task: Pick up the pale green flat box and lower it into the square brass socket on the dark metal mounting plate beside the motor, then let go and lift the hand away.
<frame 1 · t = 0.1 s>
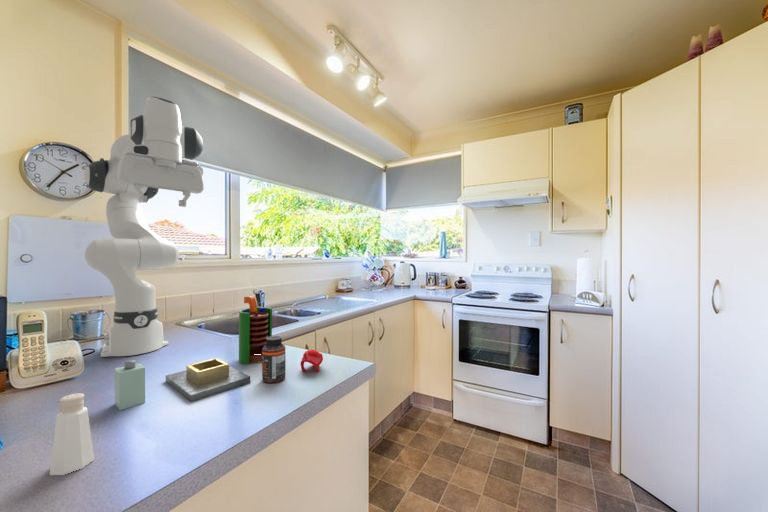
hand: (163, 204, 89), 48 cm above the countertop, tool pointing down, fingers open, 8 cm apart
supplement bottle: (273, 380, 84), on the countertop
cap: (311, 370, 91), on the countertop
mounting plate: (207, 381, 82), on the countertop
pale green flat box: (130, 403, 70), on the countertop
motor: (254, 359, 100), on the countertop
salt shaker: (72, 465, 50), on the countertop
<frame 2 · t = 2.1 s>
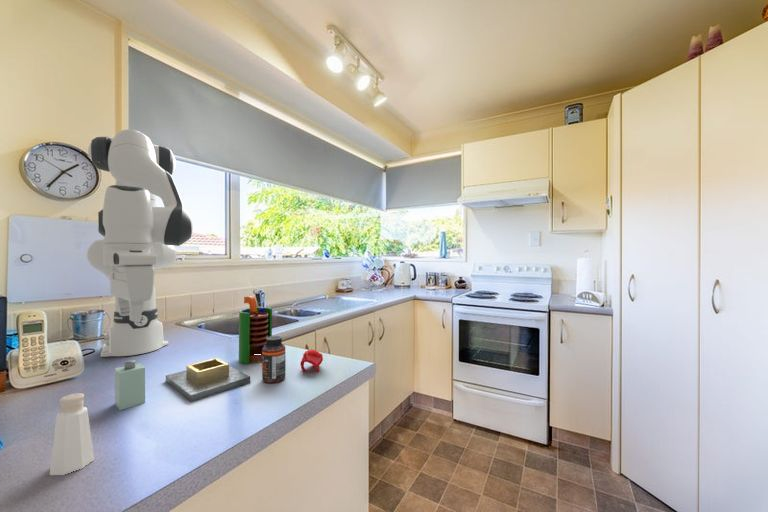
hand: (129, 318, 70), 19 cm above the countertop, tool pointing down, fingers open, 8 cm apart
nothing on the countertop moved.
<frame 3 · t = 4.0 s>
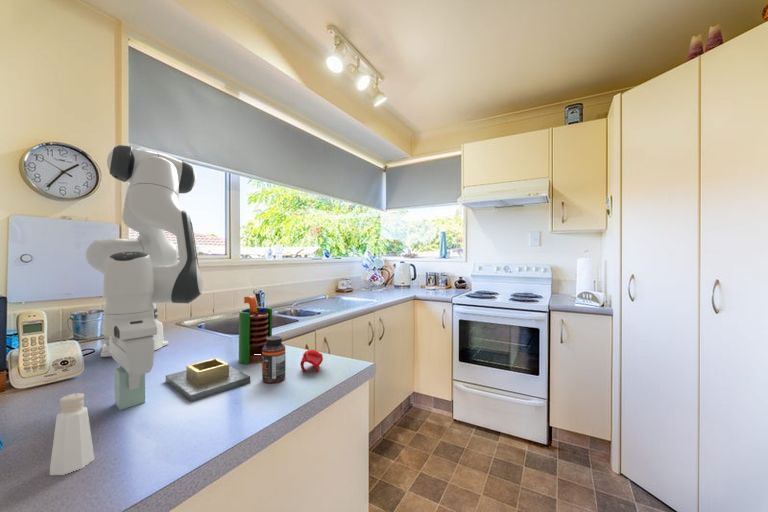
hand: (130, 384, 70), 4 cm above the countertop, tool pointing down, fingers closed on pale green flat box, 4 cm apart
pale green flat box: (130, 403, 70), on the countertop, touching gripper
everything else where it was.
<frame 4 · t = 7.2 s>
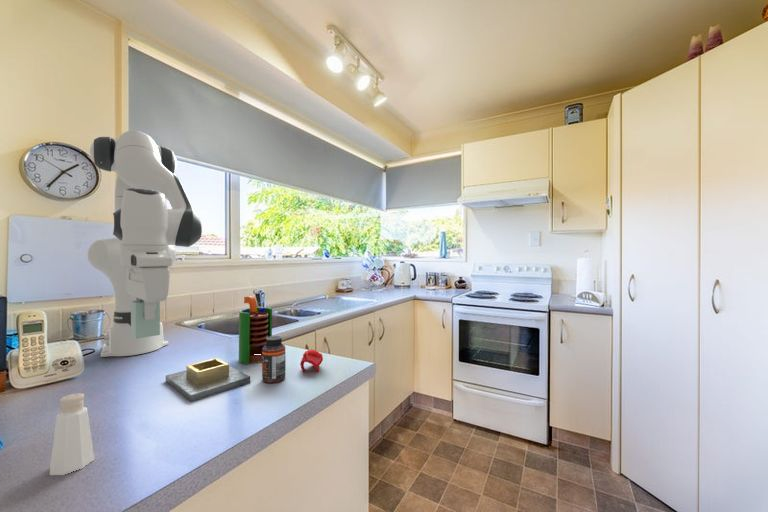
hand: (145, 317, 72), 19 cm above the countertop, tool pointing down, fingers closed on pale green flat box, 4 cm apart
pale green flat box: (145, 335, 72), point 15 cm above the countertop, touching gripper
everything else where it was.
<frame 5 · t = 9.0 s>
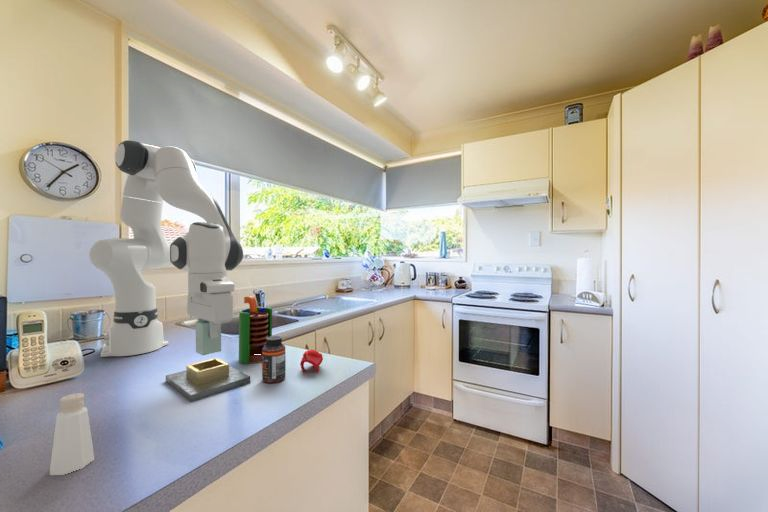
hand: (208, 336, 82), 12 cm above the countertop, tool pointing down, fingers closed on pale green flat box, 4 cm apart
pale green flat box: (208, 351, 82), point 8 cm above the countertop, touching gripper
everything else where it was.
when the fingers open (7 cm above the countertop, at t = 10.4 s): pale green flat box drops 1 cm, resting on mounting plate.
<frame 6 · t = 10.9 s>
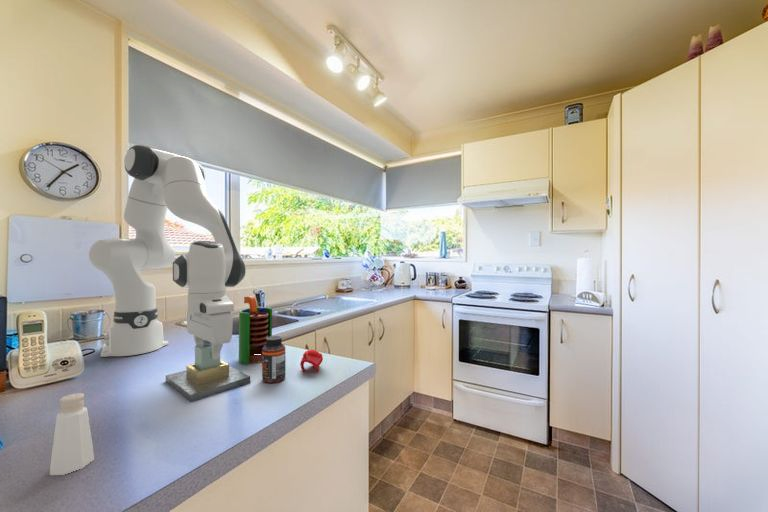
hand: (207, 354, 82), 7 cm above the countertop, tool pointing down, fingers open, 8 cm apart
pale green flat box: (207, 375, 82), point 1 cm above the countertop, touching mounting plate
everything else where it was.
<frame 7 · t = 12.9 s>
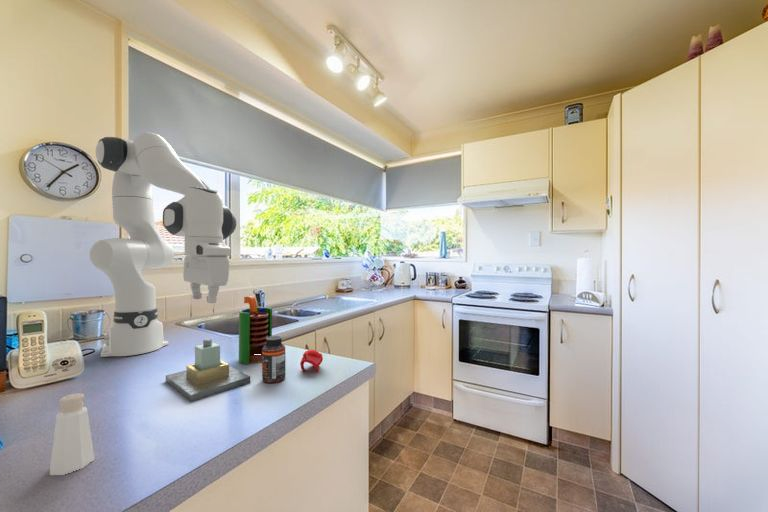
hand: (204, 300, 82), 21 cm above the countertop, tool pointing down, fingers open, 8 cm apart
nothing on the countertop moved.
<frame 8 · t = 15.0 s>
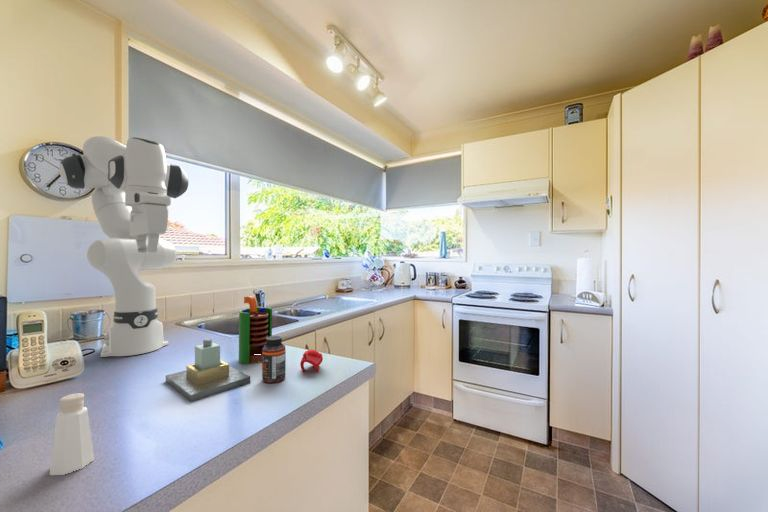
hand: (147, 252, 82), 34 cm above the countertop, tool pointing down, fingers open, 8 cm apart
nothing on the countertop moved.
at the end: pale green flat box 0.1 cm off-centre on the mounting plate, point 1.5 cm above the mounting plate's base; pale green flat box tilted 0°; the gripper is holding nothing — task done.
